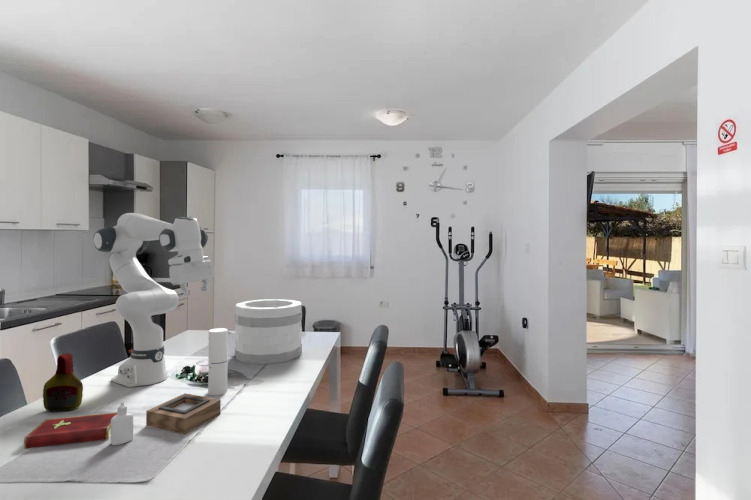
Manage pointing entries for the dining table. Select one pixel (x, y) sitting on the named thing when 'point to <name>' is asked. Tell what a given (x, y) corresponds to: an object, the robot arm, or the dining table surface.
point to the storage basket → (268, 331)
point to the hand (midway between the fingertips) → (196, 293)
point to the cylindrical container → (217, 361)
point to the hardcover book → (70, 430)
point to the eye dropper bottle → (121, 426)
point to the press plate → (184, 406)
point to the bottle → (63, 387)
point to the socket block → (183, 413)
